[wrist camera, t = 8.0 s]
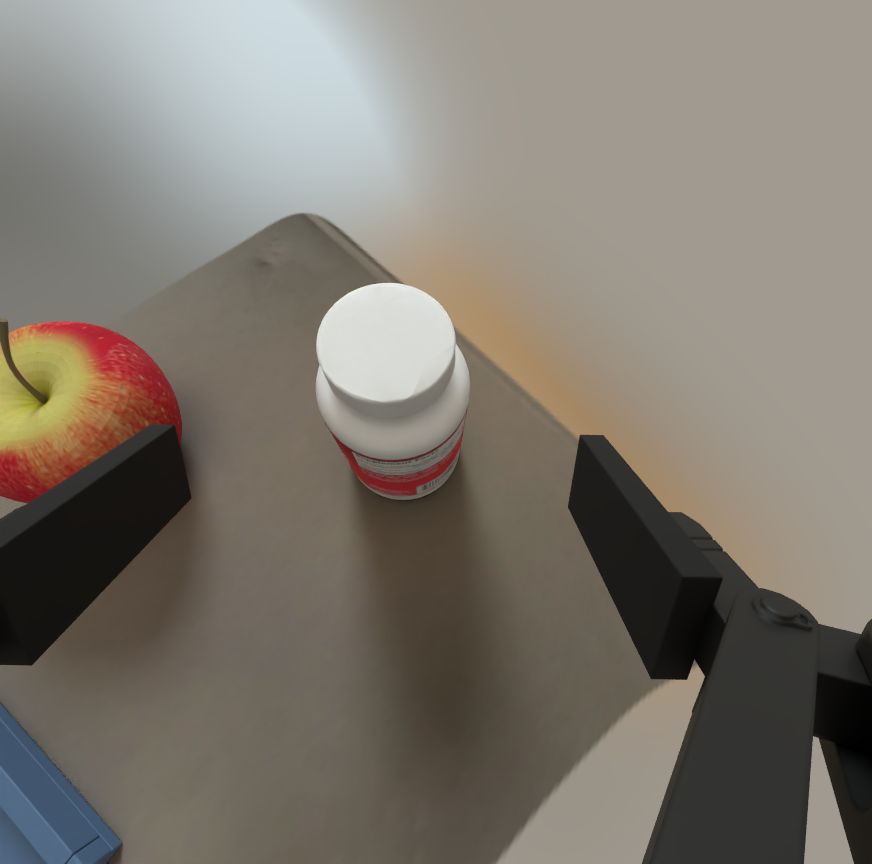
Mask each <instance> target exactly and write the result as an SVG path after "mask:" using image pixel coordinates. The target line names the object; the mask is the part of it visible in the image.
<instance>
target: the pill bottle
mask: <svg viewBox="0 0 872 864" xmlns="http://www.w3.org/2000/svg"><path fill="white" fill-rule="evenodd" d="M316 350H317V357H318V361H319V364H320V366H319V370H318V374H317V379H316V396H317V402H318V406H319V409H320V412H321V415H322V417H323V419H324V421H325V424H326V426H327V427H328V429H329V430H330V432H331V433H332V435H333V437H334V438H335V440H336V442H337V443H338V445H339V447H340V449H341V450H342V452H343V454H344V455H345V457H346V459H347V460H348V462H349V464H350V466H351V467H352V469H353V471H354V472H355V474H356V475H357V477H358V478H359V479H360V481H361V482H362V483H363V484H364V485H365V486H366V487H367V488H369V489H370V490H372V491H373V492H375V493H377V494H379V495H381V496H383V497H386V498H390V499H396V500H411V499H416V498H420V497H423V496H425V495H428V494H430V493H432V492H433V491H435V490H436V489H438V488H439V487H440V486H441V485H442V484H443V483H444V482H445V481H446V480H447V479H448V478H449V476H450V475H451V473H452V472H453V470H454V468H455V466H456V464H457V461H458V457H459V453H460V446H461V441H462V436H463V428H464V423H465V418H466V414H467V408H468V401H469V394H470V378H469V371H468V367H467V364H466V361H465V359H464V357H463V354H462V353H461V351H460V349H459V348H458V346H457V345H456V339H455V331H454V328H453V325H452V322H451V320H450V318H449V316H448V314H447V313H446V312H445V310H444V308H443V307H442V306H441V305H440V304H439V303H438V302H437V301H436V300H435V299H433V298H432V297H431V296H429V295H428V294H427V293H425V292H423V291H421V290H419V289H416V288H414V287H411V286H407V285H403V284H396V283H380V284H373V285H368V286H365V287H362V288H359V289H357V290H354V291H352V292H350V293H348V294H347V295H345V296H344V297H343V298H341V299H340V300H338V301H337V302H336V303H335V304H334V305H333V306H332V307H331V309H330V310H329V311H328V312H327V314H326V315H325V317H324V319H323V321H322V323H321V325H320V327H319V331H318V336H317V343H316Z"/></svg>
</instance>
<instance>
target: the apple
mask: <svg viewBox="0 0 872 864" xmlns="http://www.w3.org/2000/svg"><path fill="white" fill-rule="evenodd" d="M151 424H161V425H175V427H176V431H177V436H178V440H179V445H180V441H181V435H182V422H181V416H180V410H179V406H178V403H177V400H176V398H175V395H174V392H173V390H172V388H171V386H170V384H169V382H168V380H167V379H166V377H165V375H164V374H163V372H162V371H161V369H160V368H159V367H158V365H157V364H156V363H155V362H154V361H153V359H152V358H151V357H150V356H149V355H148V354H147V353H146V352H145V351H144V350H142V349H141V348H140V347H139V346H138V345H136V344H135V343H134V342H132V341H130V340H129V339H127V338H126V337H124V336H122V335H120V334H118V333H116V332H114V331H111V330H109V329H106V328H103V327H100V326H96V325H91V324H87V323H80V322H49V323H40V324H34V325H29V326H26V327H22V328H20V329H17V330H15V331H12V332H11V333H9V334H8V321H7V320H6V319H0V496H2V497H5V498H9V499H12V500H15V501H19V502H23V503H30V502H31V501H33V500H35V499H36V498H38V497H39V496H41V495H42V494H44V493H45V492H47V491H48V490H50V489H52V488H53V487H55V486H56V485H58V484H59V483H61V482H62V481H64V480H66V479H67V478H69V477H70V476H72V475H73V474H75V473H76V472H78V471H80V470H81V469H83V468H84V467H86V466H87V465H89V464H90V463H92V462H93V461H95V460H97V459H98V458H100V457H101V456H103V455H104V454H106V453H107V452H109V451H111V450H112V449H114V448H115V447H117V446H118V445H120V444H121V443H123V442H125V441H126V440H128V439H129V438H131V437H132V436H134V435H135V434H137V433H138V432H140V431H142V430H143V429H145V428H146V427H148V426H149V425H151Z"/></svg>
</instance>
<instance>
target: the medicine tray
mask: <svg viewBox="0 0 872 864" xmlns="http://www.w3.org/2000/svg"><path fill="white" fill-rule="evenodd" d="M121 844H122V842H121V841H120V840H119V839H118V838H117V837H116V835H115V834H114V833H113V832H112V831H111V830H110V829H109V827H108V826H107V825H106V824H105V823H104V822H103V821H102V819H101V818H100V817H99V816H98V815H97V814H96V812H95V811H94V810H93V809H92V808H91V807H90V806H89V804H88V803H87V802H86V801H85V800H84V799H83V798H82V796H81V795H80V794H79V793H78V792H77V791H76V790H75V788H74V787H73V786H72V785H71V784H70V783H69V781H68V780H67V779H66V778H65V777H64V776H63V775H62V773H61V772H60V771H59V770H58V769H57V768H56V767H55V765H54V764H53V763H52V762H51V761H50V760H49V759H48V757H47V756H46V755H45V754H44V753H43V752H42V750H41V749H40V748H39V747H38V746H37V745H36V744H35V742H34V741H33V740H32V739H31V738H30V737H29V736H28V734H27V733H26V732H25V731H24V730H23V729H22V728H21V726H20V725H19V724H18V723H17V722H16V721H15V719H14V718H13V717H12V716H11V715H10V714H9V713H8V711H7V710H6V709H5V708H4V707H3V706H2V705H1V703H0V864H106V863H107V862H108V861H109V859H110V858H111V857H112V856H113V854H114V853H115V852H116V851H117V849H118V848H119V847H120V846H121Z"/></svg>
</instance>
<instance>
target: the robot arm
mask: <svg viewBox="0 0 872 864" xmlns="http://www.w3.org/2000/svg"><path fill="white" fill-rule="evenodd" d="M190 499H191V494H190V489H189V485H188V480H187V476H186V471H185V467H184V462H183V458H182V454H181V449H180V445H179V440H178V436H177V431H176V427H175V425H161V424H151V425H149V426H148V427H146V428H145V429H143V430H142V431H140V432H138V433H137V434H135V435H134V436H132V437H131V438H129V439H128V440H126V441H125V442H123V443H121V444H120V445H118V446H117V447H115V448H114V449H112V450H111V451H109V452H107V453H106V454H104V455H103V456H101V457H100V458H98V459H97V460H95V461H93V462H92V463H90V464H89V465H87V466H86V467H84V468H83V469H81V470H80V471H78V472H76V473H75V474H73V475H72V476H70V477H69V478H67V479H66V480H64V481H62V482H61V483H59V484H58V485H56V486H55V487H53V488H52V489H50V490H48V491H47V492H45V493H44V494H42V495H41V496H39V497H38V498H36V499H35V500H33V501H31V502H30V503H28V504H27V505H25V506H22V507H20V508H18V509H15V510H14V511H12V512H11V513H9V514H7V515H6V516H4V517H3V518H1V519H0V665H33V664H34V663H35V662H36V660H37V659H38V658H39V657H40V656H41V655H42V654H43V653H44V652H45V651H46V650H47V649H48V648H49V647H50V646H51V645H52V644H53V643H54V642H55V641H56V639H57V638H58V637H59V636H60V635H61V634H62V633H63V632H64V631H65V630H66V629H67V628H68V627H69V626H70V625H71V624H72V623H73V622H74V621H75V620H76V619H77V617H78V616H79V615H80V614H81V613H82V612H83V611H84V610H85V609H86V608H87V607H88V606H89V605H90V604H91V603H92V602H93V601H94V600H95V599H96V598H97V597H98V595H99V594H100V593H101V592H102V591H103V590H104V589H105V588H106V587H107V586H108V585H109V584H110V583H111V582H112V581H113V580H114V579H115V578H116V577H117V576H118V575H119V573H120V572H121V571H122V570H123V569H124V568H125V567H126V566H127V565H128V564H129V563H130V562H131V561H132V560H133V559H134V558H135V557H136V556H137V555H138V554H139V553H140V551H141V550H142V549H143V548H144V547H145V546H146V545H147V544H148V543H149V542H150V541H151V540H152V539H153V538H154V537H155V536H156V535H157V534H158V533H159V532H160V531H161V529H162V528H163V527H164V526H165V525H166V524H167V523H168V522H169V521H170V520H171V519H172V518H173V517H174V516H175V515H176V514H177V513H178V512H179V511H180V510H181V509H182V507H183V506H184V505H185V504H186V503H187V502H188V501H189V500H190ZM568 508H569V510H570V512H571V514H572V516H573V518H574V521H575V523H576V525H577V527H578V529H579V531H580V533H581V535H582V537H583V539H584V541H585V543H586V545H587V547H588V550H589V552H590V554H591V556H592V558H593V560H594V562H595V564H596V566H597V568H598V570H599V572H600V574H601V576H602V578H603V581H604V583H605V585H606V587H607V589H608V591H609V593H610V595H611V597H612V599H613V601H614V603H615V605H616V607H617V609H618V612H619V614H620V616H621V618H622V620H623V622H624V624H625V626H626V628H627V630H628V632H629V634H630V636H631V638H632V641H633V643H634V645H635V647H636V649H637V651H638V653H639V655H640V657H641V659H642V661H643V663H644V665H645V667H646V669H647V672H648V674H649V676H650V678H651V679H676V680H680V679H681V680H687V678H688V675H689V673H690V670H691V667H692V664H693V661H694V659H695V661H696V662H697V664H698V666H699V667H700V669H701V670H702V672H703V674H704V675H705V678H704V681H703V684H702V686H701V689H700V692H699V694H698V697H697V699H696V702H695V705H694V707H693V710H692V716H691V719H690V722H689V725H688V728H687V731H686V734H685V737H684V740H683V743H682V746H681V749H680V752H679V755H678V758H677V761H676V764H675V767H674V769H673V772H672V775H671V778H670V781H669V784H668V787H667V790H666V793H665V796H664V799H663V802H662V805H661V808H660V811H659V814H658V817H657V820H656V823H655V826H654V829H653V832H652V835H651V838H650V841H649V844H648V847H647V850H646V853H645V856H644V859H643V862H642V864H804V853H805V839H806V838H805V837H806V825H807V811H808V797H809V782H810V768H811V756H812V742H813V736H814V737H818V738H819V740H820V744H821V748H822V751H823V755H824V758H825V762H826V765H827V769H828V772H829V776H830V780H831V783H832V787H833V790H834V794H835V797H836V801H837V804H838V808H839V812H840V815H841V819H842V822H843V826H844V829H845V833H846V836H847V840H848V843H849V847H850V851H851V854H852V858H853V861H854V864H872V619H871V620H870V621H869V622H868V623H867V625H866V627H865V628H864V630H863V632H862V634H858V633H853V632H850V631H846V630H841V629H837V628H833V627H829V626H825V625H821V624H818V622H817V620H816V619H815V618H814V617H813V616H812V614H811V613H810V612H809V611H808V610H807V609H805V608H804V607H802V606H801V605H800V604H798V603H797V602H795V601H794V600H792V599H790V598H788V597H785V596H784V595H782V594H779V593H776V592H773V591H770V590H767V589H762V588H758V587H757V586H756V584H755V583H753V581H752V580H751V579H750V578H749V577H748V576H747V575H746V574H745V572H744V571H743V570H742V569H741V568H740V567H739V566H738V565H737V564H736V563H735V562H734V561H733V560H732V558H731V557H730V556H729V555H728V554H727V553H726V552H723V549H722V547H721V546H720V545H719V544H718V543H717V542H716V541H715V540H713V539H712V537H711V535H710V534H709V533H708V532H707V531H706V530H705V529H704V528H703V527H702V526H701V525H700V524H699V523H697V522H696V521H694V520H693V519H691V518H690V517H688V516H686V515H685V514H683V513H681V512H667V510H666V509H665V508H664V507H663V506H662V504H661V503H660V502H659V501H658V500H657V499H656V497H655V496H654V495H653V494H652V492H651V491H650V490H649V489H648V488H647V487H646V485H645V484H644V483H643V482H642V481H641V479H640V478H639V477H638V476H637V475H636V473H635V472H634V471H633V470H632V469H631V467H630V466H629V465H628V464H627V463H626V462H625V460H624V459H623V458H622V457H621V456H620V454H619V453H618V452H617V451H616V450H615V448H614V447H613V446H612V445H611V444H610V443H609V441H608V440H607V439H606V438H605V437H604V436H603V435H580V438H579V444H578V450H577V456H576V462H575V468H574V474H573V480H572V486H571V492H570V498H569V504H568Z"/></svg>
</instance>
